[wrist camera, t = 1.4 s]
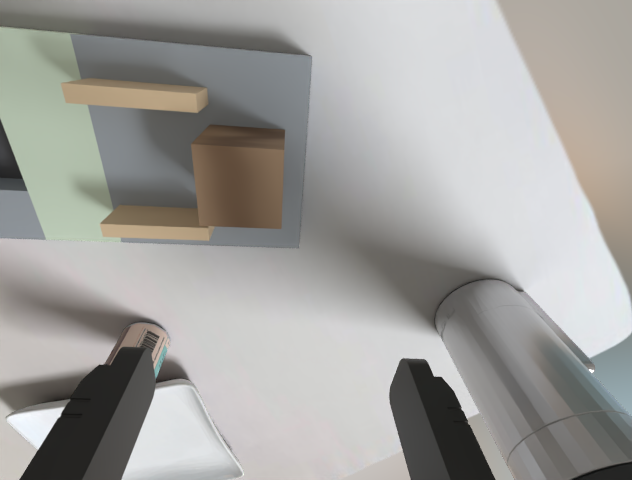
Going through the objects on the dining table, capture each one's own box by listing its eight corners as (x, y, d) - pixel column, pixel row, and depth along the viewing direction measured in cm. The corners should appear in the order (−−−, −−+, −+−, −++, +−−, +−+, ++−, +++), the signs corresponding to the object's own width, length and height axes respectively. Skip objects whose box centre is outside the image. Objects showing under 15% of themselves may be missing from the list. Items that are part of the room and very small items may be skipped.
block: (285, 129, 23) (284, 150, 18) (282, 197, 25) (281, 229, 21) (210, 124, 22) (190, 143, 18) (215, 193, 25) (199, 225, 20)
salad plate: (197, 358, 38) (189, 385, 35) (248, 454, 48) (246, 480, 46) (18, 390, 38) (-4, 419, 35) (109, 477, 49) (97, 505, 46)
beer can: (116, 321, 33) (39, 445, 23) (163, 316, 34) (108, 437, 23) (133, 353, 36) (71, 478, 26) (177, 348, 36) (133, 471, 26)
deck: (309, 55, 23) (315, 58, 18) (298, 233, 30) (299, 269, 25) (-102, 16, 20) (-222, 8, 15) (-7, 221, 27) (-70, 259, 22)
